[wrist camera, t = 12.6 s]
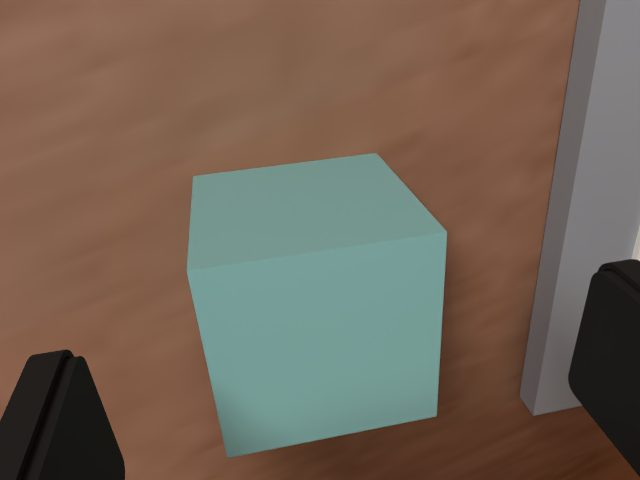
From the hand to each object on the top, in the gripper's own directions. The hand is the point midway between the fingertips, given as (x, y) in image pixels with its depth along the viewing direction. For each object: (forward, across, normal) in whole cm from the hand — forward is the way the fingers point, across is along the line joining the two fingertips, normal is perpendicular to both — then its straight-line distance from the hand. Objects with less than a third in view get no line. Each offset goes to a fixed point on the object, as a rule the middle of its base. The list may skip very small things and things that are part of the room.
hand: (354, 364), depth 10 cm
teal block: (+6, 0, +1) cm, 6 cm away
